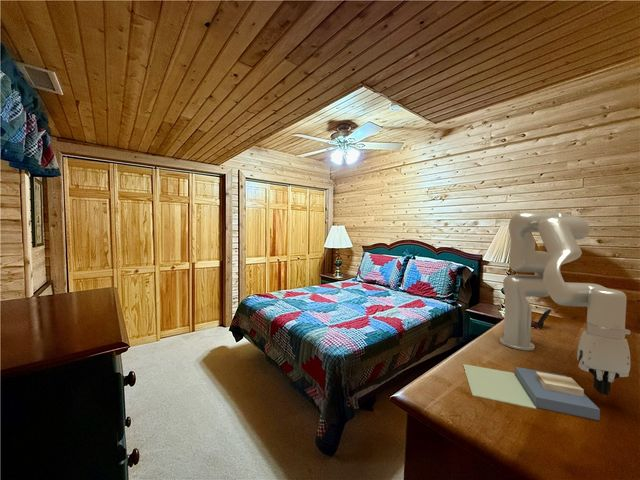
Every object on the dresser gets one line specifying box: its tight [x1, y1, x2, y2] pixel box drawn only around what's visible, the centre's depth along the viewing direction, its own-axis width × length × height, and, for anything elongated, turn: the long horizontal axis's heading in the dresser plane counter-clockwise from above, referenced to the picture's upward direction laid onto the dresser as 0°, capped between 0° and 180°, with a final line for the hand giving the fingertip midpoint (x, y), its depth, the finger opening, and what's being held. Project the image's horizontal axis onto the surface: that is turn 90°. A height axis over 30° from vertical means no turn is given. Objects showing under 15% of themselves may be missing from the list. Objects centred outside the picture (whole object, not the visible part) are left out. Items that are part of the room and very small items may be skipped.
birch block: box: [536, 372, 585, 397], centre depth 81 cm, size 7×9×2 cm
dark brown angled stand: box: [531, 309, 552, 330], centre depth 141 cm, size 9×12×10 cm
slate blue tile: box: [514, 366, 601, 421], centre depth 81 cm, size 18×14×3 cm
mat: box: [462, 363, 537, 410], centre depth 87 cm, size 20×16×1 cm
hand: (601, 392), depth 77 cm, fingers closed
